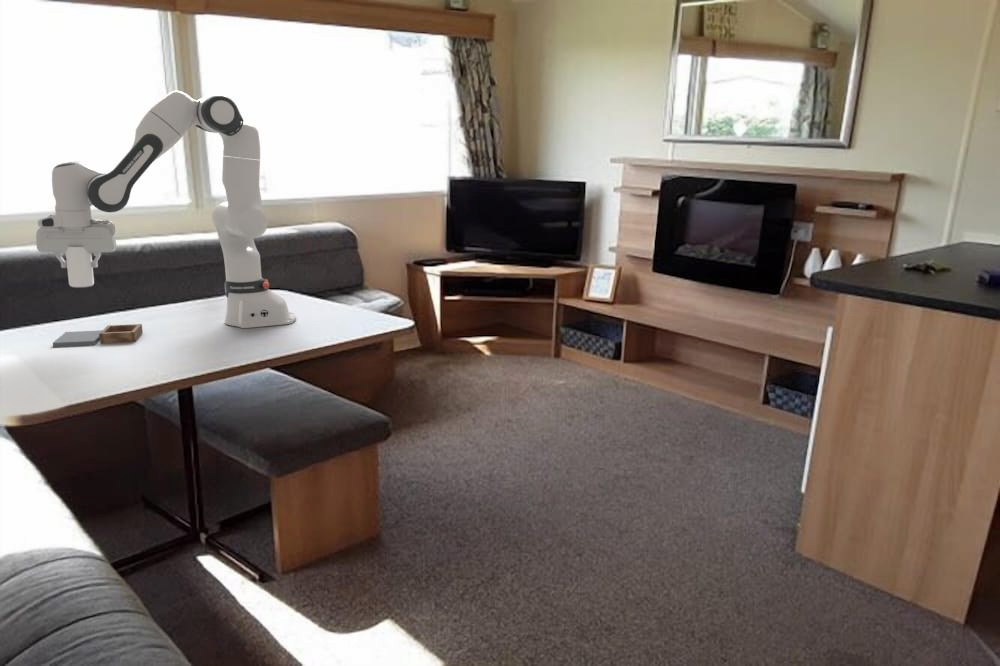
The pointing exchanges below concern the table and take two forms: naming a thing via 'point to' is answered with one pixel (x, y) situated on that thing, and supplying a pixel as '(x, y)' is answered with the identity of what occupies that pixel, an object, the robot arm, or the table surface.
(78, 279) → the can
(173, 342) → the table surface
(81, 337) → the coaster
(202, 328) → the table surface
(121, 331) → the square wooden frame
